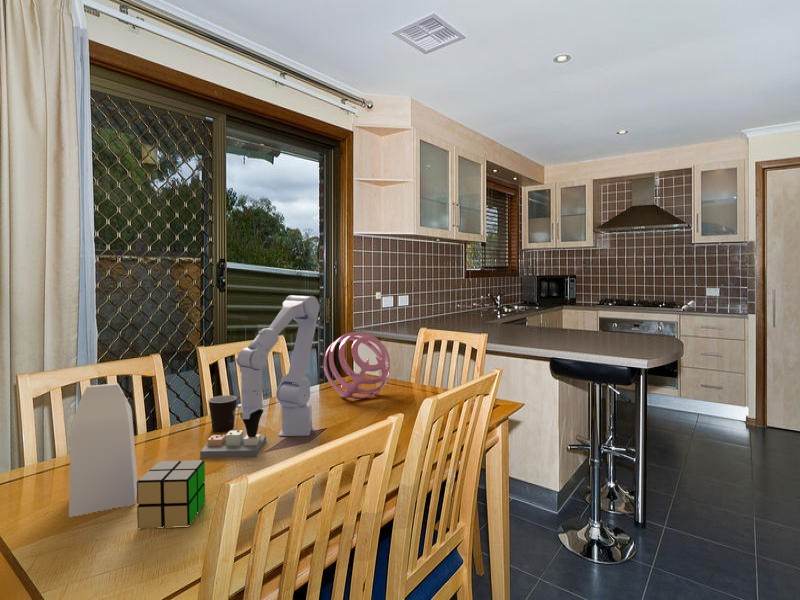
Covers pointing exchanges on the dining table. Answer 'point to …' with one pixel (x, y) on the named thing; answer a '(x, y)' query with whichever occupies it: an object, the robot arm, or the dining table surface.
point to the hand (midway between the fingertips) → (252, 436)
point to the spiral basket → (363, 365)
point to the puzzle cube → (171, 494)
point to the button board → (233, 450)
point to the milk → (102, 452)
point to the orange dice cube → (217, 440)
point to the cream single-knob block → (252, 440)
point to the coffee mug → (222, 413)
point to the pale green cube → (234, 438)
